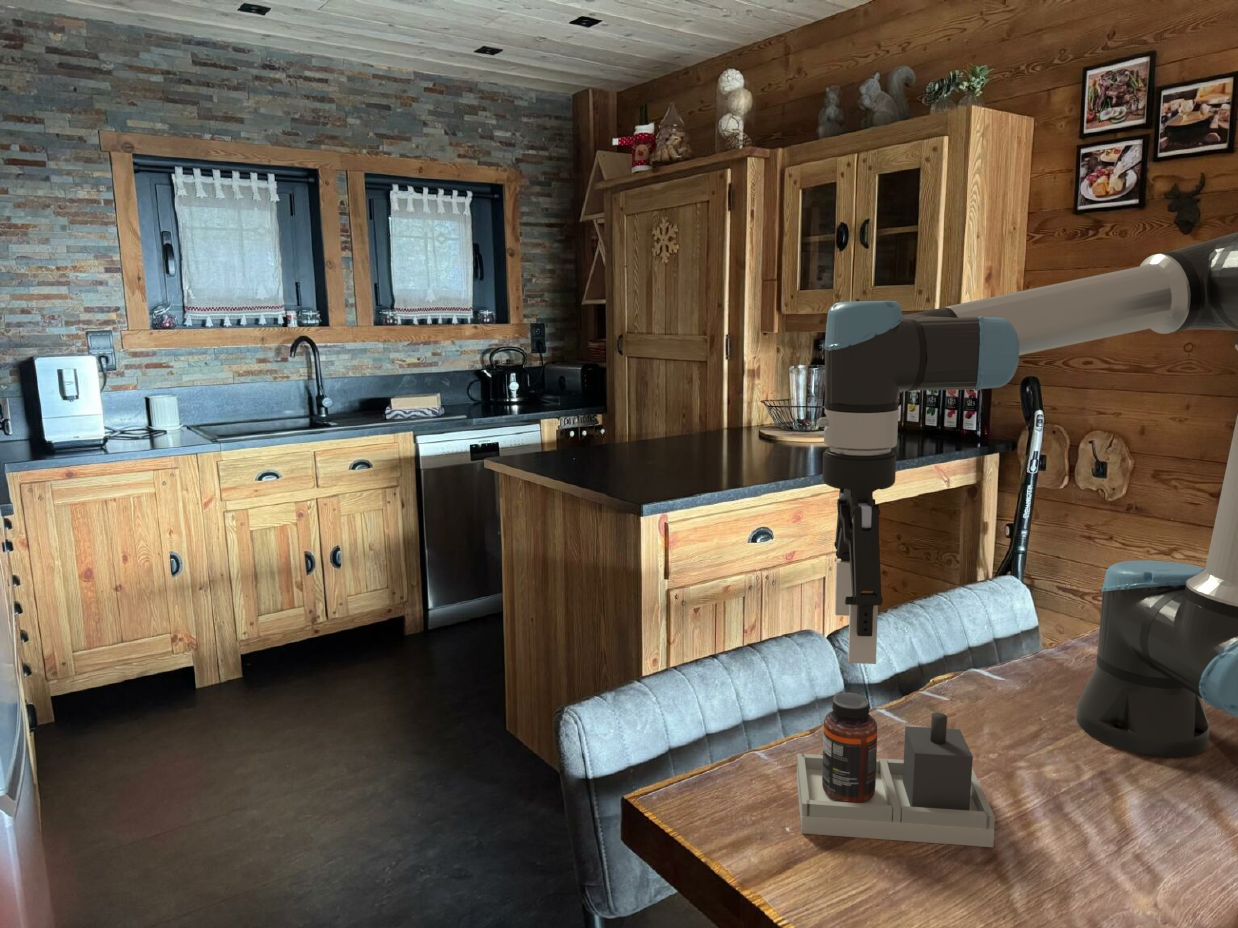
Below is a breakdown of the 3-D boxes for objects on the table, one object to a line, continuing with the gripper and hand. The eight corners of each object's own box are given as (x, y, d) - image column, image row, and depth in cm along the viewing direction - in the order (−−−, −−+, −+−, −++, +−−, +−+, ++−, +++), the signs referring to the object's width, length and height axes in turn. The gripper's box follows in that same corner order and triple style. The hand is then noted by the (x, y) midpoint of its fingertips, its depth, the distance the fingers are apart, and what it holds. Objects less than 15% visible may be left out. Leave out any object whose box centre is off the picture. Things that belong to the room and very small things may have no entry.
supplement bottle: (872, 779, 102) (876, 689, 100) (877, 808, 96) (882, 714, 94) (820, 775, 103) (823, 686, 101) (822, 803, 97) (825, 710, 95)
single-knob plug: (956, 784, 101) (961, 704, 99) (969, 815, 95) (974, 730, 93) (902, 781, 102) (906, 702, 100) (911, 811, 96) (916, 727, 94)
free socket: (877, 766, 105) (877, 754, 104) (891, 821, 94) (892, 807, 94) (796, 762, 106) (797, 749, 106) (802, 815, 95) (802, 801, 95)
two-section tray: (967, 787, 104) (969, 759, 103) (993, 847, 93) (995, 815, 92) (796, 777, 107) (797, 749, 106) (801, 833, 95) (802, 802, 95)
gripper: (814, 430, 105) (811, 597, 109) (834, 472, 81) (829, 684, 85) (878, 430, 104) (872, 598, 108) (918, 472, 80) (909, 687, 84)
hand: (853, 636), depth 96 cm, fingers open, 13 cm apart
